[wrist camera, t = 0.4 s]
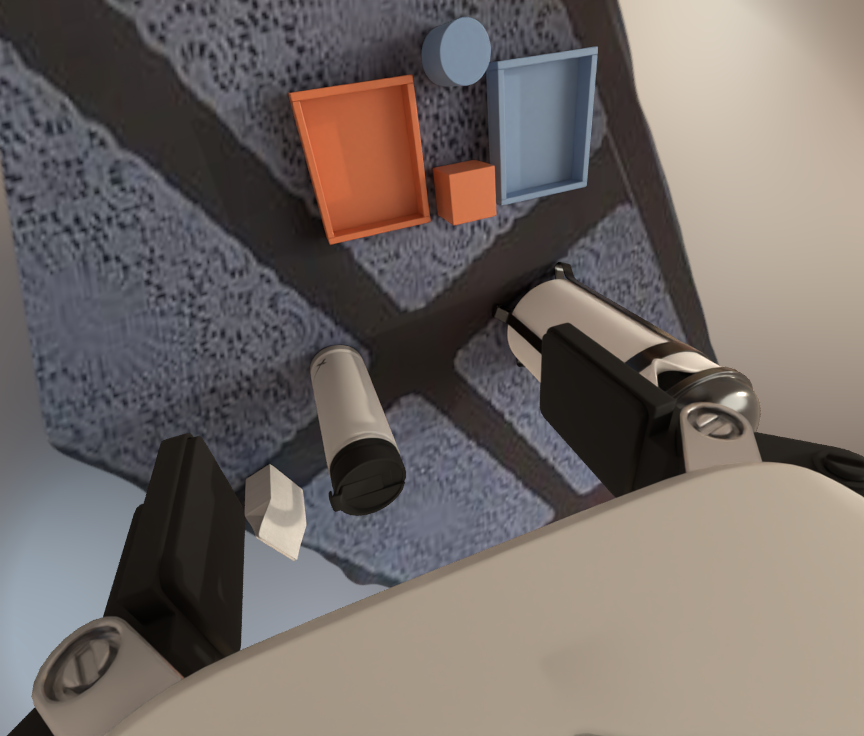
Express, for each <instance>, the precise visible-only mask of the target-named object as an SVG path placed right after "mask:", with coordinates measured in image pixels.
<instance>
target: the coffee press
mask: <svg viewBox="0 0 864 736" xmlns="http://www.w3.org/2000/svg"><path fill="white" fill-rule="evenodd" d="M563 271H564V274H565V276H566V278H567V279H568V280H567V279H564V276H563ZM554 274H555V280H550V281H547V282H544V283H542V284H540V285H538V286H536V287H535V288H533V289H532V290H530V291H529V292H528V293H527V294H526V295H525V296H524V297H523V298H522V299H521V300H520V301H519V303H518V304H517V306H516V307H515V309H514V310H513V309H510V308H507V307H504V306H502V305H495V307H494V310H493V313H492V316H493V317H495V318H497V319H499V320H501V321H503V322H505V323H507V324H508V331H507V337H508V343H509V346H510V349H511V351H512V352H513V354H514V355H515V356H516V357H517V365H518V366H519V367H526V368H527V369H528V370H529V371H530V372H531V373H532V374H533V375H534V376H535V377H536V378H537V379H538V380H539V381H540V382H541V356H542V337H543V335H544V334H546V332H547V330H548V328H550V327H553V326H556V325H559V324H563V323H570V324H572V325H573V326H575V327H576V328H578V329H579V330H580V331H582V332H583V333H584V334H586V335H587V336H589V337H590V338H591V339H593V340H594V341H595V342H597V343H598V344H600V345H601V346H602V347H604V348H605V349H606V350H608V351H609V352H611V353H612V354H613V355H615V356H616V357H617V358H619V359H620V360H622V361H623V362H624V363H626V364H627V365H628V366H630V367H631V368H633V369H634V370H635V371H637V372H638V373H639V374H641V375H642V376H644V377H645V378H646V379H648V380H649V381H650V382H652V383H653V384H655V385H656V386H657V387H659V388H660V389H661V390H663V391H664V392H666V393H667V394H668V395H670V396H671V397H672V398H674V399H675V400H676V404H675V405H676V406H678V407H679V408H680V409H683V408H684V407H685V406H687V405H690V404H692V403H698V402H709V403H715V404H720V405H723V406H726V407H729V408H731V409H733V410H735V411H737V412H738V413H740V414H742V415H743V416H744V417H745V418H746V419H747V420H748V421H749V423H750V425H751V427H752V430H753V432H756V431H757V429H758V426H759V422H760V415H761V410H760V409H761V408H760V403H759V399H758V397H757V395H756V394H755V392H754V391H753V388H752V384H751V382H750V380H749V379H748V378H747V377H746V376H745V375H743V374H742V373H740V372H738V371H737V370H735V369H732V368H728V367H720V366H718V365H716V364H715V363H713V362H711V360H710V359H709V357H708V356H706V355H705V354H703V353H702V352H700V351H698V350H696V349H695V348H693V347H691V346H689V345H687V344H685V343H683V342H681V341H678V340H677V339H675V338H674V337H673V336H671V335H670V334H668V333H666V332H665V331H663V330H661V329H660V328H658V327H656V326H654V325H653V324H651V323H649V322H648V321H646V320H644V319H642V318H641V317H639V316H637V315H636V314H634V313H632V312H630V311H629V310H627V309H625V308H624V307H622V306H620V305H618V304H617V303H615V302H613V301H612V300H610V299H608V298H606V297H605V296H603V295H601V294H600V293H598V292H596V291H595V290H593V289H591V288H589V287H588V286H586V285H584V284H583V283H581V282H579V281H578V280H576V279H575V277H574V275H573V272H572V269H571V266H570V264H567V263H562V262H558V263H557V264H556V265H555V268H554Z"/></svg>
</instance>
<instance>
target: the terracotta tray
mask: <svg viewBox="0 0 864 736" xmlns="http://www.w3.org/2000/svg"><path fill="white" fill-rule="evenodd" d="M288 96H289V99H290V103H291V107H292V110H293V114H294V118H295V122H296V125H297V129H298V133H299V137H300V140H301V144H302V148H303V152H304V155H305V159H306V163H307V167H308V170H309V174H310V178H311V181H312V185H313V189H314V193H315V196H316V200H317V204H318V208H319V211H320V215H321V219H322V223H323V226H324V230H325V234H326V237H327V240H328V242H329V244H330V245H331V244H335V243H340V242H344V241H348V240H353V239H357V238H362V237H366V236H370V235H375V234H379V233H384V232H388V231H392V230H397V229H401V228H406V227H410V226H414V225H419V224H423V223H428V222H430V213H429V205H428V197H427V189H426V181H425V173H424V164H423V156H422V148H421V140H420V132H419V124H418V115H417V107H416V99H415V91H414V84H413V75H412V74H411V75H404V76H397V77H391V78H384V79H377V80H371V81H364V82H358V83H351V84H344V85H338V86H331V87H325V88H318V89H311V90H305V91H298V92H291V93H288Z"/></svg>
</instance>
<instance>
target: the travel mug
mask: <svg viewBox="0 0 864 736" xmlns="http://www.w3.org/2000/svg"><path fill="white" fill-rule="evenodd" d="M310 374H311V380H312V385H313V390H314V396H315V401H316V406H317V412H318V417H319V422H320V428H321V433H322V438H323V444H324V449H325V454H326V460H327V465H328V469H329V475H330V478H331V481H332V487H333V490H334V495H333V496H332V492H331V491H330V492H329V500H330V503H331V506H332V508H333V510H334V511H335V512H336V511H340V510H341V511H343V512H344V513H346V514H349V515H355V516H359V515H367V514H371V513H374V512H377V511H379V510H381V509H383V508H384V507H386V506H387V505H389V504H390V503H391V502H393V501H394V500H395V499H396V498H397V497H398V496H399V494H400V493H401V491H402V490H403V487H404V484H405V482H404V480H405V478H406V471H405V467H404V464H403V462H402V459H401V457H400V453H399V450H398V448H397V445H396V442H395V440H394V437H393V435H392V432H391V430H390V427H389V425H388V422H387V420H386V417H385V414H384V412H383V409H382V407H381V404H380V402H379V399H378V397H377V394H376V392H375V389H374V387H373V384H372V382H371V379H370V377H369V374H368V372H367V369H366V367H365V364H364V361H363V359H362V357H361V355H360V354H359V353H358V352H357V351H356V350H355V349H353V348H351V347H349V346H345V345H333V346H330V347H327V348H325V349H323V350H321V351H320V352H318V354H317V355H316V356H315V357H314V358H313V360H312V362H311V365H310Z"/></svg>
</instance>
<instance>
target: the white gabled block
mask: <svg viewBox="0 0 864 736" xmlns="http://www.w3.org/2000/svg"><path fill="white" fill-rule="evenodd" d="M245 517H246V519H247V520H248V522H249V523H250V524H251V526H252V528H253V530H254V532H255V536H256V538H258V539H259V540H261V541H263V542H265V543H266V544H267V545H269V546H271V547H273V548H274V549H276V550H277V551H279V552H281V553H282V554H284V555H285V556H287V557H289V558H290V559H292V560H293V561H294V559H296V560H297V558H298V552H299V548H300V544H301V541H302V537H303V534H304V531H305V528H306V516H305V507H304V498H303V490H302V489H301V488H300V487H298V486H297V485H296V484H295V483H293V482H292V481H291V480H290V479H288V478H287V477H286V476H285V475H283V474H282V473H281V472H280V471H278V470H277V469H276V468H275V467H273V466H272V465H271V464H269V465H267V466H266V467H264V468H263V469H261V470H260V471H258V472H256V473H255V474H253V475H252V476H250V477H249V478H247V479H246V489H245Z"/></svg>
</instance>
